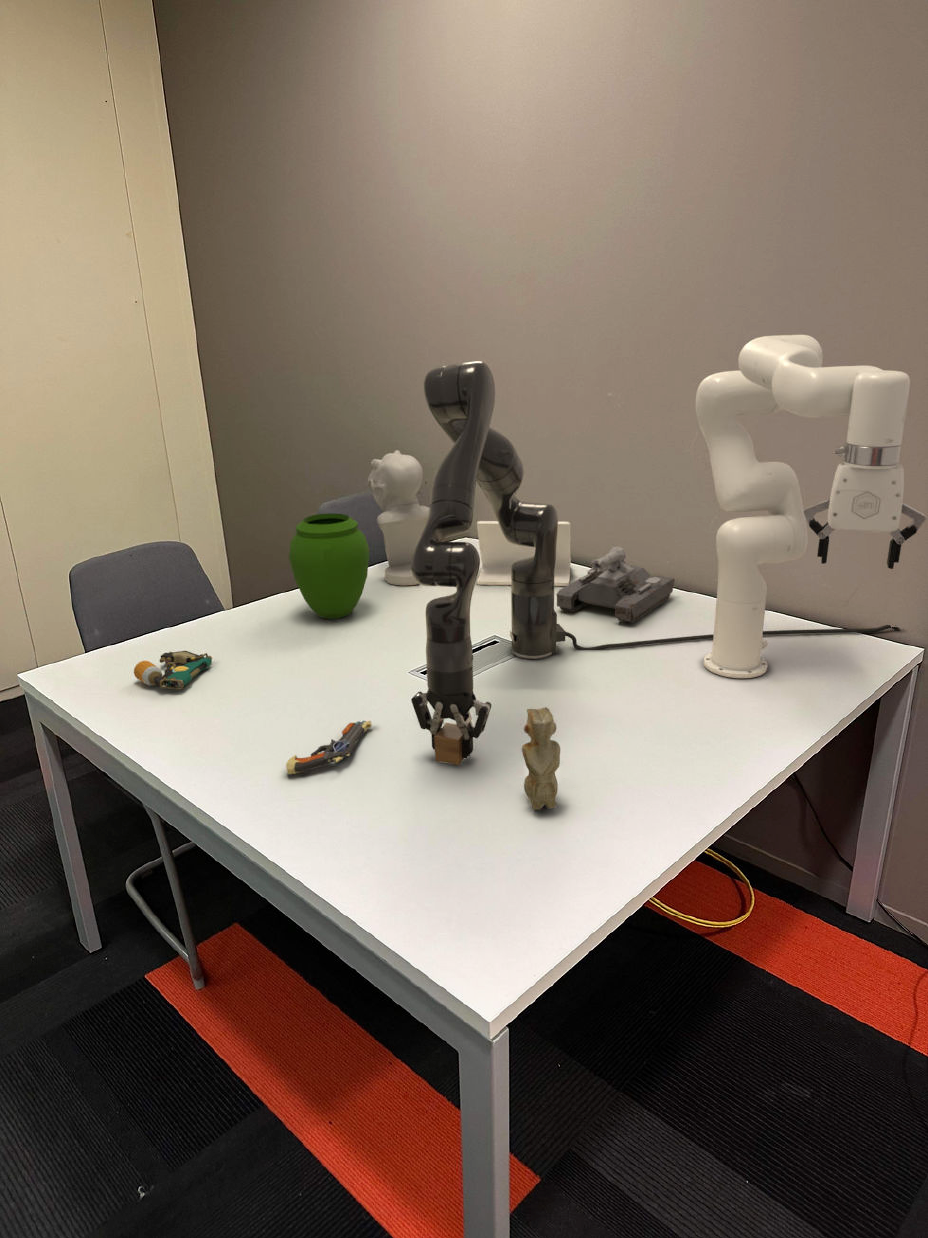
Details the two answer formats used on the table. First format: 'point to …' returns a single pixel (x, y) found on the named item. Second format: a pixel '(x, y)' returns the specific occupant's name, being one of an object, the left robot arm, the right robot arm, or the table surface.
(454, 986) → the table surface
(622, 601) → the toy
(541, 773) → the sculpture
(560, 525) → the tablet stand
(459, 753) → the brown wooden block
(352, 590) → the vase
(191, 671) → the spray gun
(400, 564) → the bust sculpture
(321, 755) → the toy gun
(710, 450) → the right robot arm
